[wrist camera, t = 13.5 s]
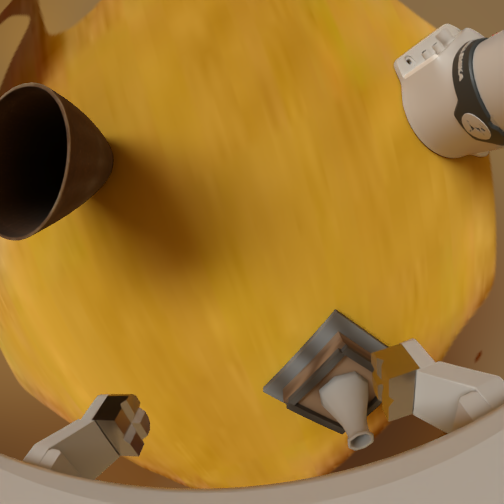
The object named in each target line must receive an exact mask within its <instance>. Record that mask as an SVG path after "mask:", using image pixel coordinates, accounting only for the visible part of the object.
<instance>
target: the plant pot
mask: <svg viewBox="0 0 504 504" xmlns="http://www.w3.org/2000/svg"><path fill="white" fill-rule="evenodd" d="M112 167H113V154H112V151H111V148H110V146H109V144H108V142H107V141H106V139H105V137H104V136H103V134H102V133H101V132H100V131H99V129H98V128H97V127H96V126H95V125H94V123H93V122H92V121H91V120H90V119H89V118H88V117H87V116H86V115H85V114H84V113H83V112H81V111H80V110H79V109H78V108H77V107H76V106H75V105H73V104H72V103H71V102H69V101H68V100H67V99H65V98H64V97H62V96H61V95H59V94H58V93H56V92H55V91H53V90H51V89H50V88H48V87H46V86H44V85H42V84H39V83H25V84H21V85H18V86H16V87H14V88H12V89H11V90H9V91H8V92H7V93H5V94H4V95H3V96H2V97H1V98H0V236H1V237H3V238H5V239H9V240H22V239H25V238H28V237H30V236H32V235H34V234H36V233H37V232H39V231H41V230H43V229H44V228H46V227H48V226H50V225H52V224H53V223H55V222H57V221H58V220H60V219H62V218H63V217H65V216H66V215H68V214H69V213H71V212H72V211H74V210H75V209H76V208H78V207H79V206H81V205H82V204H83V203H84V202H86V201H87V200H88V199H89V198H90V197H91V196H93V195H94V194H95V193H96V192H97V191H98V190H99V189H100V188H101V187H102V185H103V184H104V183H105V182H106V181H107V179H108V177H109V176H110V173H111V171H112Z"/></svg>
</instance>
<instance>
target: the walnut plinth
mask: <svg viewBox="0 0 504 504" xmlns="http://www.w3.org/2000/svg"><path fill="white" fill-rule="evenodd" d="M386 348H389V347H387V346H386V345H385V344H383V343H382V342H380V341H379V340H378V339H376V338H375V337H373V336H372V335H371V334H369V333H368V332H367V331H365V330H364V329H362V328H361V327H360V326H358V325H357V324H355V323H354V322H353V321H351V320H350V319H348V318H347V317H346V316H344V315H343V314H341V313H340V312H339V311H337V310H336V309H335V310H334V312H333V313H332V314H331V315H330V316H329V317H328V319H327V320H326V321H325V322H324V323H323V324H322V325H321V327H320V328H319V329H318V330H317V331H316V332H315V333H314V334H313V336H312V337H311V338H310V339H309V340H308V341H307V342H306V343H305V344H304V346H303V347H302V348H301V349H300V350H299V351H298V352H297V353H296V354H295V355H294V356H293V357H292V358H291V360H290V361H289V362H288V363H287V364H286V365H285V366H284V367H283V368H282V369H281V370H280V371H279V372H278V373H277V374H276V375H275V376H274V377H273V378H272V379H271V380H270V381H269V382H268V383H267V384H266V385H265V386H264V387H263V392H265V393H267V394H269V395H270V396H272V397H274V398H276V399H278V400H280V401H282V402H284V403H286V405H287V409H289V410H291V411H293V412H295V413H297V414H299V415H301V416H303V417H306V418H308V419H310V420H312V421H314V422H316V423H318V424H320V425H323V426H325V427H327V428H329V429H331V430H334V431H336V432H338V433H340V434H343V433H344V432H345V430H344V428H343V427H342V426H341V424H340V423H339V422H338V421H337V420H336V419H335V418H334V417H333V416H332V415H331V414H330V413H329V412H328V411H327V410H326V409H325V408H324V407H323V406H322V404H321V399H320V393H319V390H320V389H321V388H322V387H323V386H324V385H325V384H327V383H328V382H329V381H330V380H331V379H332V378H333V377H335V376H339V375H343V374H346V373H350V372H354V371H355V372H357V373H358V374H360V375H361V376H362V377H364V378H365V379H367V380H368V394H369V396H368V405H367V416H368V415H369V414H370V413H371V412H372V411H373V410H374V409H376V408H377V407H378V406H379V405H380V404H381V403H382V401H379V400H378V399H377V396H376V394H375V391H374V387H373V382H372V373H373V371H374V368H373V366H372V364H371V353H373V352H376V351H379V350H382V349H386Z"/></svg>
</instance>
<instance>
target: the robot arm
mask: <svg viewBox="0 0 504 504" xmlns="http://www.w3.org/2000/svg"><path fill="white" fill-rule="evenodd" d="M406 60H407V61H408V62H409V63H410V64H408V63H407V61H406ZM394 67H395V70H396V73H397V75H398V77H399V80H400V82H401V86H402V100H403V106H404V110H405V113H406V116H407V119H408V121H409V123H410V125H411V127H412V129H413V130H414V132H415V133H416V135H417V136H418V138H419V139H420V140H421V141H422V142H423V143H424V144H425V145H426V146H427V147H428V148H429V149H431V150H432V151H434V152H435V153H437V154H439V155H441V156H444V157H448V158H459V157H463V156H466V155H474V156H477V157H484V156H487V155H488V153H489V151H492V150H497V149H501V148H504V30H502V31H501V32H499V33H496V34H495V35H492V37H490V38H485V37H483V36H482V35H481V34H480V33H478V32H476V31H475V30H472V29H470V28H465V29H464V30H462V31H461V30H460V29H458V28H456V27H454V26H452V25H450V24H445V25H443V26H441V27H439V28H438V29H437V30H435V31H434V32H433V33H431V34H430V35H428V36H427V37H426V38H424V39H423V40H422V41H420V42H419V43H418V44H416V45H415V46H414V47H412V48H411V49H410V50H408V51H407V52H406V53H404V54H403V55H402V56H400V57H399V58H398V59H397V60H396V61H395V62H394ZM371 364H372V366H373V368H374V371H373V373H372V382H373V387H374V391H375V394H376V396H377V399H378V400H379V401H382V409H383V411H384V414H385V416H386V418H387V420H388V422H389V421H392V420H396V419H399V418H402V417H405V416H408V415H411V414H413V415H415V416H416V417H418V418H420V419H422V420H424V421H425V422H427V423H429V424H431V425H433V426H435V427H437V428H438V429H440V430H442V431H444V432H446V433H448V434H447V435H444V436H442V437H440V438H438V439H436V440H433V441H431V442H429V443H427V444H424V445H421V446H419V447H416V448H414V449H411V450H408V451H406V452H403V453H400V454H397V455H395V456H392V457H389V458H386V459H383V460H379V461H376V462H373V463H370V464H367V465H363V466H360V467H356V468H352V469H348V470H344V471H341V472H336V473H332V474H327V475H323V476H318V477H313V478H308V479H302V480H296V481H290V482H283V483H276V484H268V485H259V486H248V487H235V488H214V489H179V488H176V489H175V488H158V487H145V486H135V485H126V484H118V483H111V482H105V481H99V480H94V479H95V478H96V477H98V476H99V475H100V474H101V473H102V472H103V471H104V470H105V469H107V468H108V467H109V466H110V465H111V464H112V463H113V462H114V461H115V460H117V459H118V458H119V457H120V456H139V455H140V452H141V450H142V448H143V445H144V442H143V440H142V439H144V438H145V437H146V436H147V435H148V433H149V430H150V422H149V418H148V416H147V414H146V412H145V411H144V410H142V409H141V408H139V406H140V402H139V400H138V398H137V397H136V396H135V395H133V394H111V395H110V394H101V395H98V396H97V397H96V399H95V400H94V401H93V403H92V404H91V406H90V407H89V409H88V410H87V411H86V413H85V414H84V416H83V417H82V419H81V420H79V419H78V420H76V421H74V422H73V423H71V424H69V425H68V426H66V427H64V428H63V429H61V430H59V431H57V432H56V433H54V434H52V435H50V436H48V437H47V438H45V439H43V440H41V441H40V442H38V443H36V444H35V445H34V446H33V447H32V449H31V450H30V451H29V453H28V454H27V456H26V457H25V458H24V460H23V461H20V460H17V459H14V458H11V457H8V456H6V455H3V454H1V453H0V504H504V381H503V379H502V378H501V377H500V376H497V375H493V374H488V373H484V372H480V371H476V370H472V369H468V368H464V367H460V366H456V365H452V364H448V363H444V362H441V361H439V362H435V361H434V360H433V359H432V358H431V357H430V355H429V354H428V353H427V352H426V351H425V350H424V349H423V347H422V346H421V345H420V344H419V343H418V342H417V341H416V339H410V340H407V341H405V342H402V343H400V344H398V345H395V346H392V347H389V348H386V349H382V350H379V351H376V352H373V353H371Z"/></svg>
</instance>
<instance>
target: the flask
mask: <svg viewBox="0 0 504 504" xmlns="http://www.w3.org/2000/svg"><path fill="white" fill-rule="evenodd" d="M319 393H320V399H321V404H322V406H323V407H324V408H325V409H326V410H327V411H328V412H329V413H330V414H331V415H332V416H333V417H334V418H335V419H336V420H337V421H338V422H339V423H340V424H341V426H342V427H343V428H344V430H345V432H346V433H347V435H348V447H349V448H351V449H353V450H355V451H356V450H359V449H363V448H366V447H367V446H368V445H370V444H371V443H373V442H374V435H373V433H371V432H370V431H369V429H368V426H367V419H366V417H367V405H368V396H369V394H368V380H367V379H365V378H364V377H362V376H361V375H360V374H358V373H357V372H355V371H354V372H350V373H346V374H343V375H339V376H335V377H333V378H332V379H331V380H330V381H329V382H328V383H327V384H325V385H324V386H323V387H322V388H321V389H320V390H319Z"/></svg>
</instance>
